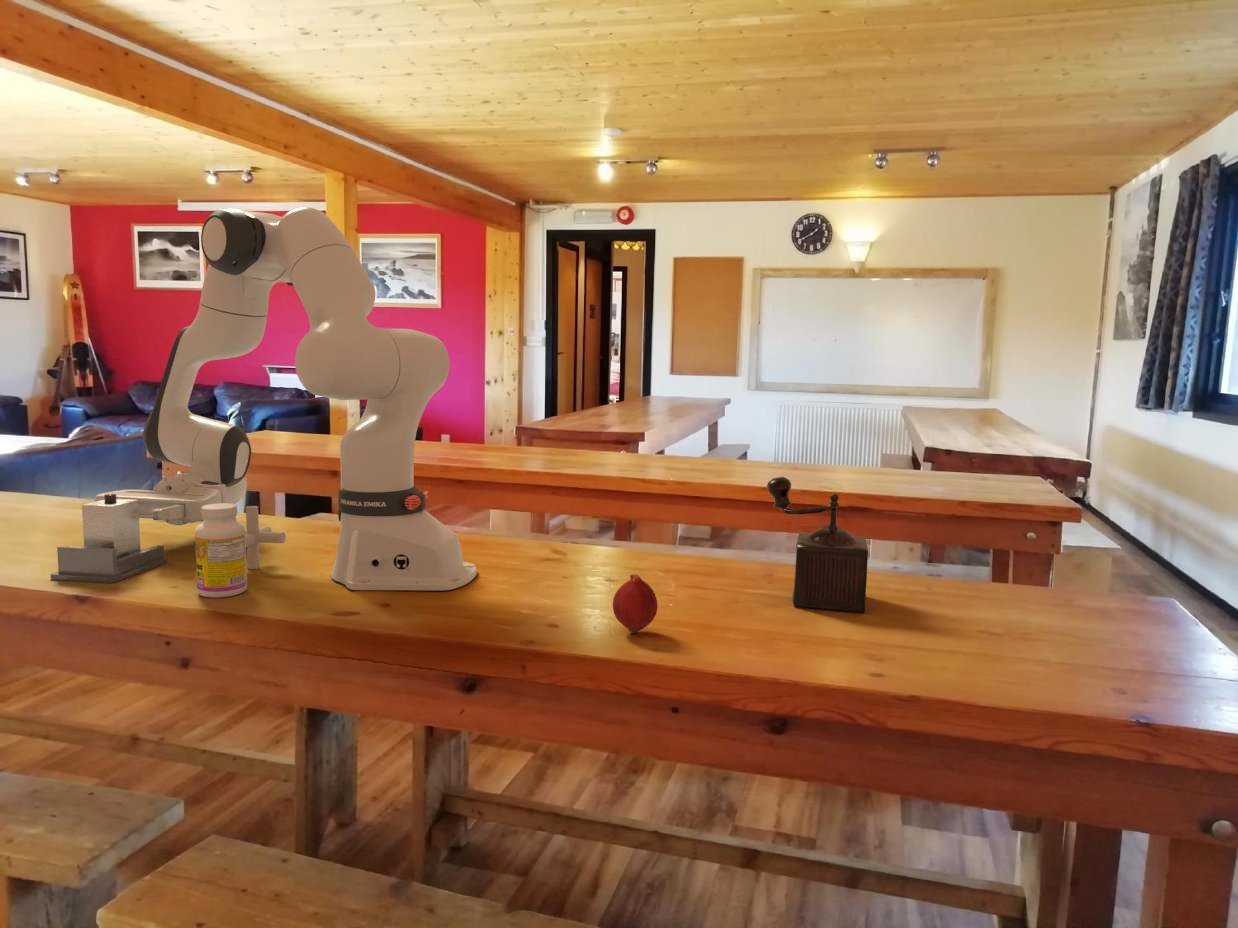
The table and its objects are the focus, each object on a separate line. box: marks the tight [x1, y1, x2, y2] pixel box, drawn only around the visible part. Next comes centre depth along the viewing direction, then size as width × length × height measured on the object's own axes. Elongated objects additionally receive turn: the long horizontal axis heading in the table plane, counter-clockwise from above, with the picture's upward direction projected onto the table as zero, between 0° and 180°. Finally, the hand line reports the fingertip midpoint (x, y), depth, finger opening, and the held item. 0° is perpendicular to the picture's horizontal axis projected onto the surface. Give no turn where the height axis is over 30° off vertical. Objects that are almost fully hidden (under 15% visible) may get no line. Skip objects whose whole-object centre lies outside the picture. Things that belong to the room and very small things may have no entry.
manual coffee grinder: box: [766, 476, 869, 614], centre depth 130 cm, size 16×11×18 cm
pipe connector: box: [245, 505, 287, 570], centre depth 140 cm, size 10×10×10 cm
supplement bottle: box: [194, 503, 248, 599], centre depth 125 cm, size 7×7×13 cm
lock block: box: [81, 494, 142, 559], centre depth 136 cm, size 5×6×11 cm
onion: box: [612, 573, 659, 634], centre depth 113 cm, size 6×6×8 cm
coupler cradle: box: [50, 544, 168, 584], centre depth 136 cm, size 10×13×5 cm
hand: (129, 513), depth 140 cm, fingers open, 8 cm apart
